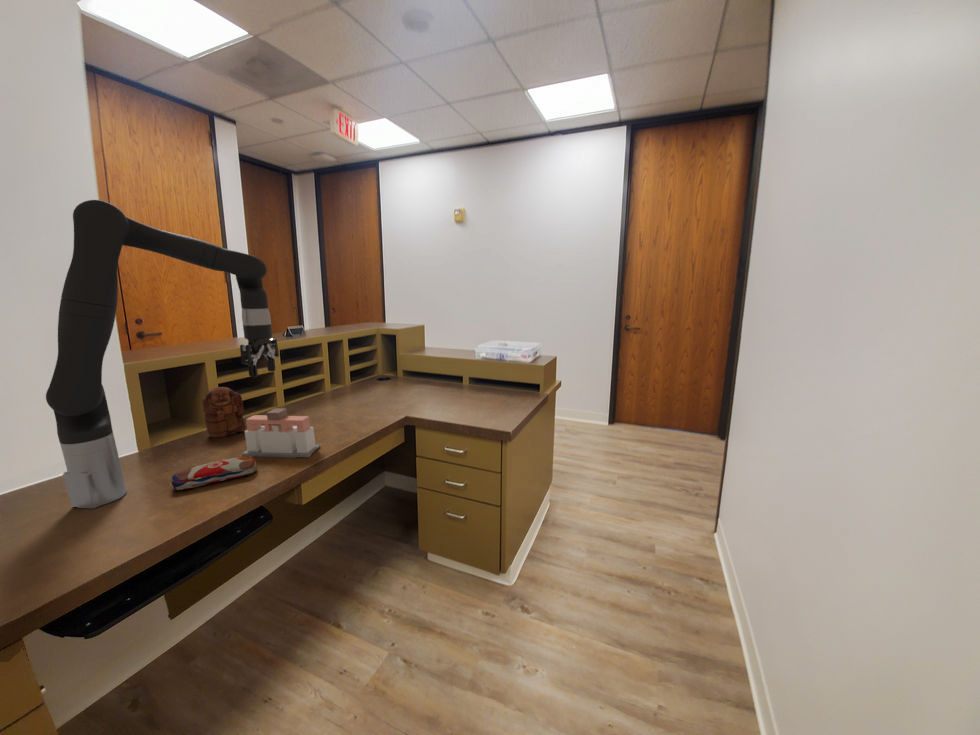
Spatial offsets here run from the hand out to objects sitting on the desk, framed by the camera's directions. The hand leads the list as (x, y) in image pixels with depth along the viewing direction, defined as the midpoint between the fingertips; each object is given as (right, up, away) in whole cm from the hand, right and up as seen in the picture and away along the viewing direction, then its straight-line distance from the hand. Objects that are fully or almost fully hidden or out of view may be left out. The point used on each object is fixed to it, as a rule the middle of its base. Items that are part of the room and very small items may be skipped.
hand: (263, 373), depth 119 cm
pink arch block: (+3, -18, +4) cm, 19 cm away
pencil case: (-6, -31, -12) cm, 33 cm away
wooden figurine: (-26, -23, +21) cm, 41 cm away
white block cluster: (+3, -26, +6) cm, 27 cm away
